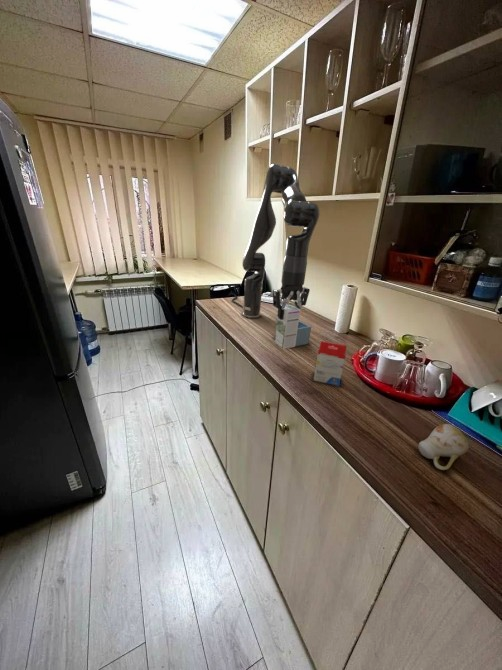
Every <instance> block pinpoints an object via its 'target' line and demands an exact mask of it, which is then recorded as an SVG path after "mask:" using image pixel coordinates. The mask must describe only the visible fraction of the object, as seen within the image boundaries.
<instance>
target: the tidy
mask: <svg viewBox="0 0 502 670" xmlns="http://www.w3.org/2000/svg"><path fill="white" fill-rule="evenodd" d="M311 331H312V326H311V325H309V324H307V323H306V322H303V321H301V320H300V319H299V323H298V329H297V336H296V344H295V347H298V346H299V347H300V346H304V345H310V344H309V343H310V338H311V337H310V336H311Z"/></svg>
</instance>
